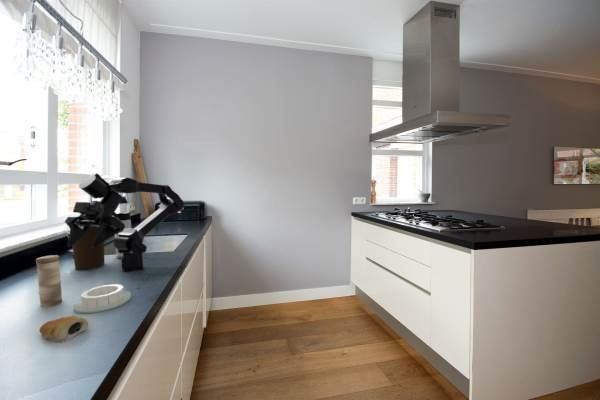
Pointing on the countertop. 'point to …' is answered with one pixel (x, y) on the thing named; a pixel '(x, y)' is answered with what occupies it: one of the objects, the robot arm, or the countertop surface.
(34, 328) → the countertop surface
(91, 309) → the holder
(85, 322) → the pastry
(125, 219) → the travel mug
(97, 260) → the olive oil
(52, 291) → the canister
